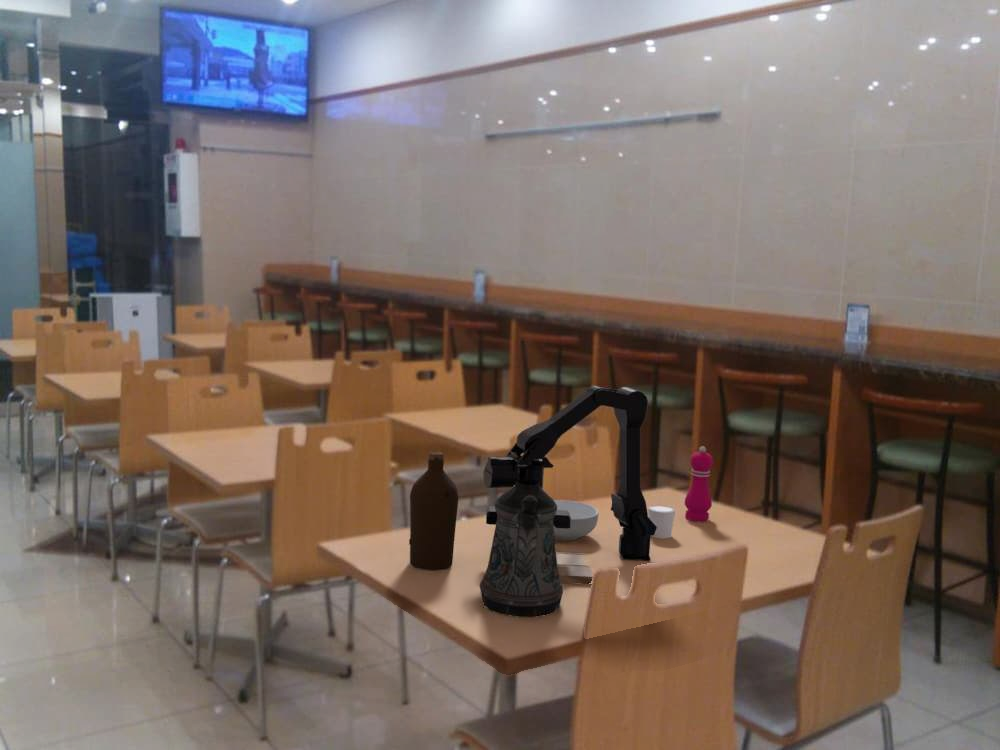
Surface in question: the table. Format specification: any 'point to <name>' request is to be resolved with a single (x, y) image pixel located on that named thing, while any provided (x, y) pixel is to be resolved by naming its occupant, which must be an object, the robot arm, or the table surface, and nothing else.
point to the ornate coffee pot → (523, 554)
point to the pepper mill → (699, 487)
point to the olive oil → (433, 517)
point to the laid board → (575, 574)
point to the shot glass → (662, 520)
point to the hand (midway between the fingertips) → (525, 554)
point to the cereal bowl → (576, 519)
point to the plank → (571, 559)
